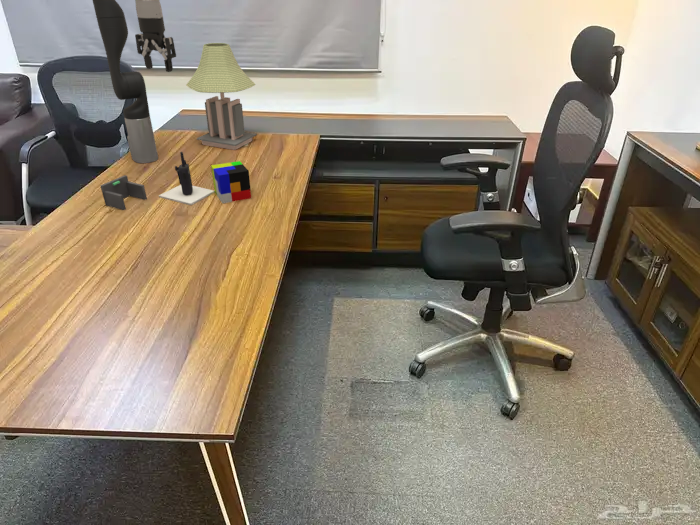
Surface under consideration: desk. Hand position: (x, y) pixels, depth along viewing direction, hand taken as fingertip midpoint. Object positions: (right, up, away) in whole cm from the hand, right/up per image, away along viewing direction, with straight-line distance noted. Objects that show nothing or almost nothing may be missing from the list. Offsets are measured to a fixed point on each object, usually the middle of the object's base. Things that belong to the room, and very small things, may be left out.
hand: (159, 69), depth 162 cm
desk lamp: (+9, -11, +55) cm, 57 cm away
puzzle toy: (+23, -41, +7) cm, 47 cm away
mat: (+7, -40, +7) cm, 42 cm away
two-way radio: (+7, -40, +6) cm, 41 cm away
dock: (-11, -44, 0) cm, 45 cm away
